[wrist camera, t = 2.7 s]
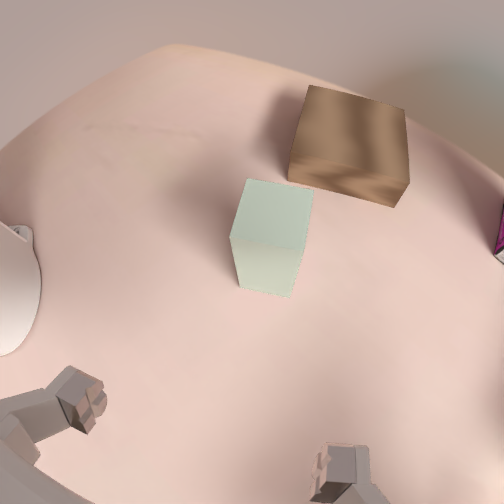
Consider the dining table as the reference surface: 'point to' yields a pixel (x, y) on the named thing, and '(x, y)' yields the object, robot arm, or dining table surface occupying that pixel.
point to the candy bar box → (500, 241)
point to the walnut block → (351, 147)
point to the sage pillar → (270, 235)
